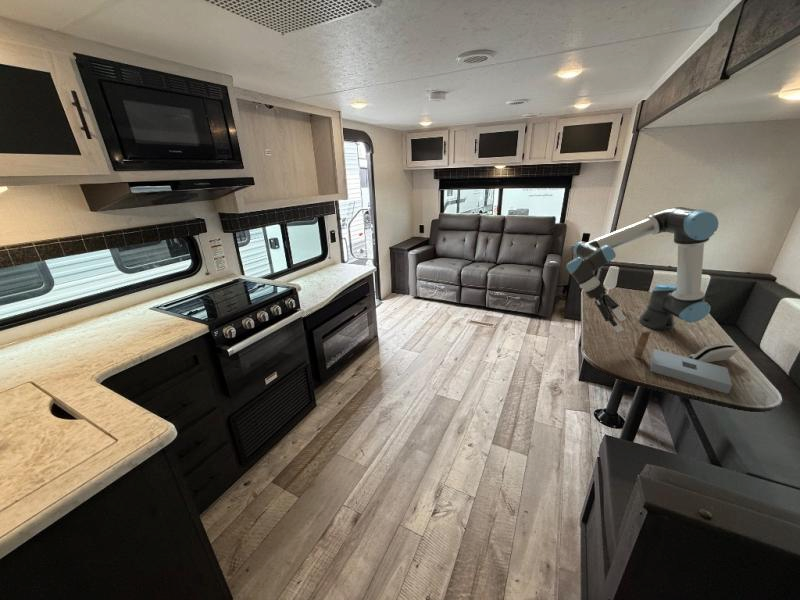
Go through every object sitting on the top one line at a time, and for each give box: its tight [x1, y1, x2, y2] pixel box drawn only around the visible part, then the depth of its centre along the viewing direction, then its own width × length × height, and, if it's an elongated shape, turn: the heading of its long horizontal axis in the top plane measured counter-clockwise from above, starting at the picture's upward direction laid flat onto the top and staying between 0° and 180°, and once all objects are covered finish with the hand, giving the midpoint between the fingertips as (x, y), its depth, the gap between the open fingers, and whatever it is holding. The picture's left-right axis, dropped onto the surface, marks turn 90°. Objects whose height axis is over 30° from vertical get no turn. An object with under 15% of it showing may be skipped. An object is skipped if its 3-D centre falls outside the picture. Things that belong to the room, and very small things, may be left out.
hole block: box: [649, 348, 733, 395], centre depth 130 cm, size 24×14×4 cm, turn 52°
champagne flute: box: [602, 265, 620, 296], centre depth 192 cm, size 7×7×24 cm
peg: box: [633, 329, 651, 359], centre depth 140 cm, size 3×3×13 cm
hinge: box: [687, 342, 739, 363], centre depth 139 cm, size 17×5×10 cm, turn 100°
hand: (622, 325), depth 142 cm, fingers open, 13 cm apart
